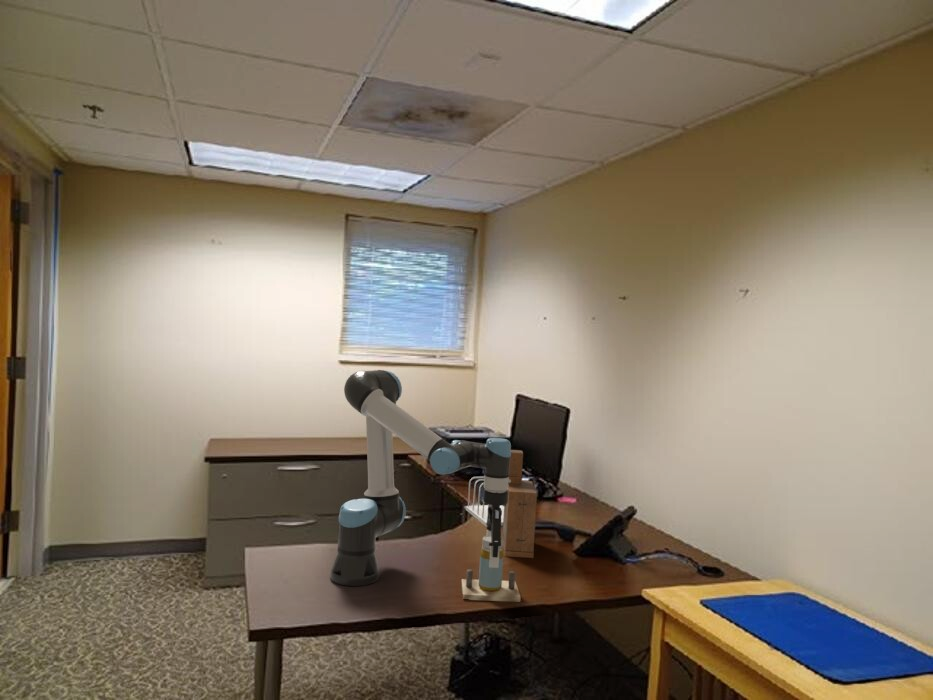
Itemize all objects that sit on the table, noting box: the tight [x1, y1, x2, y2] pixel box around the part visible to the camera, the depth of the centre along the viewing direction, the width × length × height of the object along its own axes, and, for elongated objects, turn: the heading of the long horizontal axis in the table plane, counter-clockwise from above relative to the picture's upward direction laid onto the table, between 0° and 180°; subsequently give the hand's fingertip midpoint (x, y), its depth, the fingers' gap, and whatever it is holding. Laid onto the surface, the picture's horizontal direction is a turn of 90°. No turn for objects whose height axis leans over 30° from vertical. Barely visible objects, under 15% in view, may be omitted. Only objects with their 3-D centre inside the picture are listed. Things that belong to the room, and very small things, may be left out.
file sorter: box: [465, 476, 504, 528], centre depth 275 cm, size 25×17×16 cm
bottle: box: [478, 535, 504, 591], centre depth 193 cm, size 7×7×15 cm
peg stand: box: [460, 568, 522, 603], centre depth 193 cm, size 17×12×6 cm
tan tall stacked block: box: [501, 449, 538, 559], centre depth 236 cm, size 19×14×35 cm
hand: (491, 559), depth 193 cm, fingers open, 13 cm apart
